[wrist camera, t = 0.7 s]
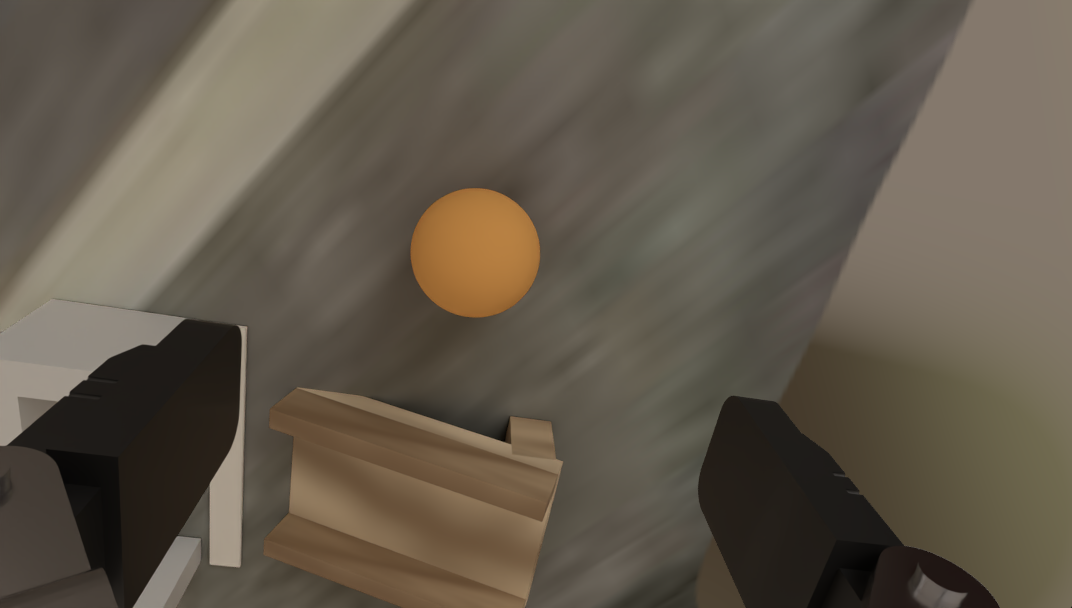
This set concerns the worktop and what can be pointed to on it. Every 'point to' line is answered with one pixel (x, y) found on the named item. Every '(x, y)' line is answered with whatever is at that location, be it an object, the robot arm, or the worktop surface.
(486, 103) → the worktop surface
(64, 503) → the robot arm
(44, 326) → the backstop
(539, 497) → the ramp
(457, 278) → the ball
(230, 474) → the strip
